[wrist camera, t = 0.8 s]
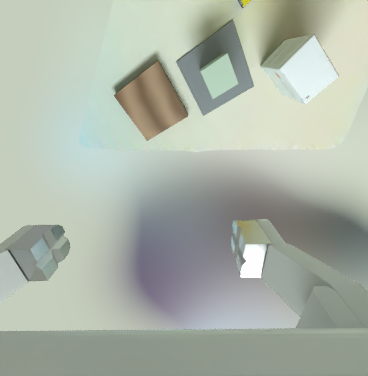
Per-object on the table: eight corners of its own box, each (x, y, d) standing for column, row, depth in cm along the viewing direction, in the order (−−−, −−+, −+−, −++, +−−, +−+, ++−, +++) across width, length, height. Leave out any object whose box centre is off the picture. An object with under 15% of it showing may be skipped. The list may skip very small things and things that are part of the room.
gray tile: (232, 20, 31) (232, 19, 31) (253, 86, 37) (253, 86, 37) (176, 62, 36) (176, 62, 35) (203, 115, 42) (203, 115, 41)
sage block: (222, 53, 34) (227, 53, 29) (232, 79, 37) (238, 83, 31) (199, 69, 36) (200, 71, 30) (210, 93, 38) (212, 99, 33)
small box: (306, 71, 35) (341, 76, 27) (281, 95, 38) (305, 106, 30) (284, 38, 33) (315, 31, 24) (259, 65, 35) (278, 69, 27)
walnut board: (158, 60, 36) (157, 61, 34) (188, 114, 42) (187, 116, 40) (116, 94, 40) (113, 95, 39) (148, 138, 46) (147, 140, 45)
